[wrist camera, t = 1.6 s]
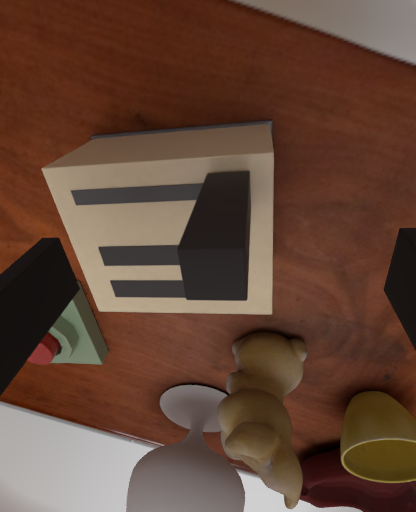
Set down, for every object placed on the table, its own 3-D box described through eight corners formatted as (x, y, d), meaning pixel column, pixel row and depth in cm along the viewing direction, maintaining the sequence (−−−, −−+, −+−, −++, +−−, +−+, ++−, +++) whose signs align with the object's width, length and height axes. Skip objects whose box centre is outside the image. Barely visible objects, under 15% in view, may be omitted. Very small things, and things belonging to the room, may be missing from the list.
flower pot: (315, 392, 40) (324, 451, 35) (394, 368, 36) (420, 430, 30) (351, 429, 44) (365, 488, 38) (427, 411, 40) (456, 474, 34)
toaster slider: (206, 172, 17) (175, 249, 11) (249, 170, 17) (244, 248, 10) (211, 211, 19) (185, 301, 12) (251, 210, 18) (247, 301, 12)
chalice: (143, 412, 49) (105, 535, 37) (171, 365, 41) (134, 500, 29) (223, 440, 51) (212, 566, 38) (264, 400, 43) (267, 542, 31)
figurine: (208, 351, 39) (185, 492, 26) (240, 307, 34) (229, 456, 22) (277, 378, 40) (285, 526, 28) (316, 340, 35) (348, 499, 23)
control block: (1, 280, 37) (-24, 303, 33) (79, 280, 35) (60, 304, 32) (42, 348, 43) (24, 373, 40) (109, 350, 41) (96, 377, 38)
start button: (17, 326, 35) (7, 338, 34) (52, 327, 34) (43, 339, 33) (33, 351, 38) (24, 364, 36) (66, 353, 37) (58, 365, 35)
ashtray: (448, 446, 43) (468, 488, 39) (390, 489, 53) (401, 527, 48) (322, 418, 44) (329, 457, 39) (287, 466, 53) (290, 502, 49)
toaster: (93, 134, 25) (35, 165, 19) (272, 119, 23) (277, 148, 16) (130, 259, 32) (96, 314, 26) (271, 257, 30) (274, 317, 23)
